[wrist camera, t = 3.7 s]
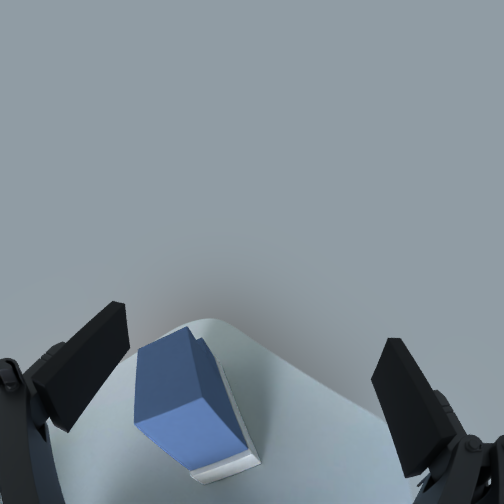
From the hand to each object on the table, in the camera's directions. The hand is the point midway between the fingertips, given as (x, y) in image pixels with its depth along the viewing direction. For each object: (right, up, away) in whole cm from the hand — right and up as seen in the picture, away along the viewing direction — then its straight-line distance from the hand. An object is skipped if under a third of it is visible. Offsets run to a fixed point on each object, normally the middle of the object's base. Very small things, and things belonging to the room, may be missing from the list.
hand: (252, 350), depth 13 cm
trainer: (-4, -11, +10) cm, 15 cm away
